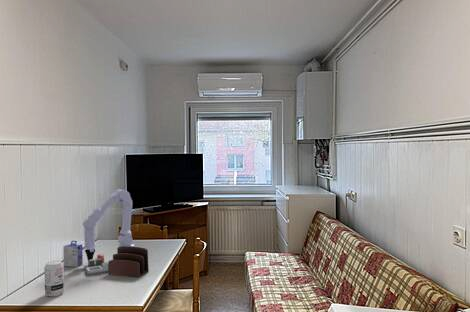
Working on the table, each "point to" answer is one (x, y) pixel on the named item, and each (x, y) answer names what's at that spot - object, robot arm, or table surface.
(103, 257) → the cap
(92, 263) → the block
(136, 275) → the letter holder
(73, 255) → the ink cartridge box
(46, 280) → the supplement can
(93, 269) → the breaker panel
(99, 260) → the block
